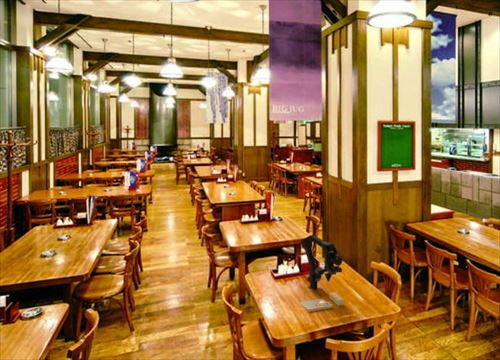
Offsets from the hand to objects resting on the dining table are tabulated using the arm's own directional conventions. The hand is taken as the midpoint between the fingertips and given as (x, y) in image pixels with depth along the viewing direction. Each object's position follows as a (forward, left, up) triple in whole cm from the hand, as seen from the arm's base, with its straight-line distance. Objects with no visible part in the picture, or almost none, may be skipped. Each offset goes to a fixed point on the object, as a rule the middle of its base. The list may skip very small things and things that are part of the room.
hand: (328, 281), depth 254 cm
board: (+9, -14, -12) cm, 21 cm away
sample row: (+9, +2, -12) cm, 15 cm away
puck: (+11, -10, -11) cm, 19 cm away
